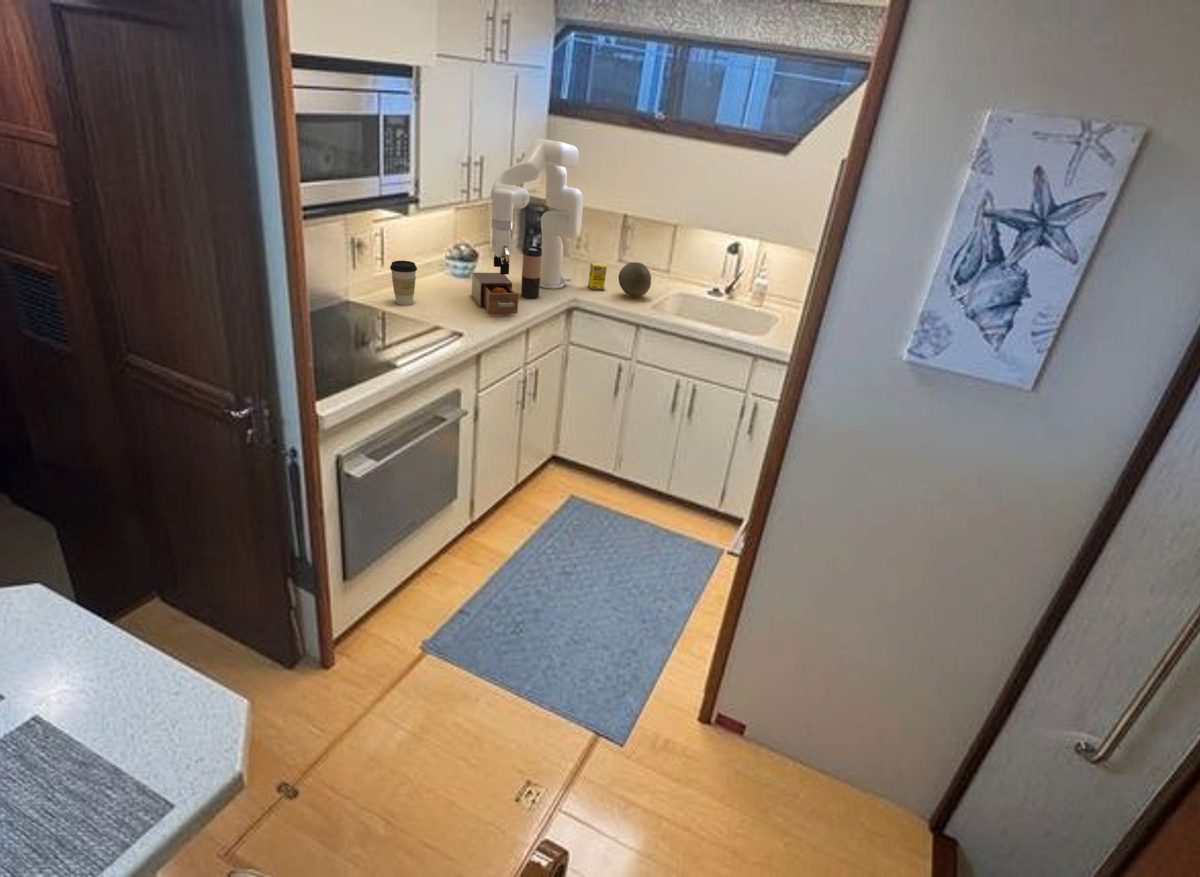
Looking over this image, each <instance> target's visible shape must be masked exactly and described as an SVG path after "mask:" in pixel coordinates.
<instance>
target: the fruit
mask: <svg viewBox="0 0 1200 877" xmlns="http://www.w3.org/2000/svg"><path fill="white" fill-rule="evenodd" d="M491 293H507V291H506V290H505V289H503V288H500V287H499V288H494V289H493V290H492V291H491Z"/></svg>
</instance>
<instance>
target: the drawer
mask: <svg viewBox="0 0 1200 877" xmlns="http://www.w3.org/2000/svg"><path fill="white" fill-rule="evenodd" d="M499 287H500V288H503V289H505V290H506V291H507V293H491V291H492V290H493V289H494V288H499ZM482 303H483V304H484V306H485V307H484V308H485V309H486V310H487V314H488V315H514V314H515V315H516V314H518V309H519V293H518V292H515V291H514V290H513V288H512V289H511V288H510V286H509V285H483V292H482Z"/></svg>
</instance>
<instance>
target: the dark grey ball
mask: <svg viewBox="0 0 1200 877" xmlns="http://www.w3.org/2000/svg"><path fill="white" fill-rule="evenodd" d="M618 284H619V286H620V288H621V289H622V291H623V292H624V293H625V294H626V295H628V296H629V297H632V298H639V297H640V298H641V297H642V296H644V295H646V294H647V293H649V290H650V289H651V286H652V274H651V272H650V270H649V269H648V267H647V266H646V265H645V264H643V263H641V262H627V263H626V264H625V265H624V266H623V267H622V268H621V269H620V271H619V272H618Z"/></svg>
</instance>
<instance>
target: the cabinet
mask: <svg viewBox="0 0 1200 877" xmlns="http://www.w3.org/2000/svg"><path fill="white" fill-rule="evenodd" d="M471 274H472V275H471V297H472V299H473V300H474V301H475V302H476V304H477V305H478V307H479V308H486V307H485V306H484V304H483V303H482V292H483V285H509V286H510V288H511V289H512V290H513V281H511V280H510V279H509V277H507V276H506V274H504V275H501V274H500V272H471Z"/></svg>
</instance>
